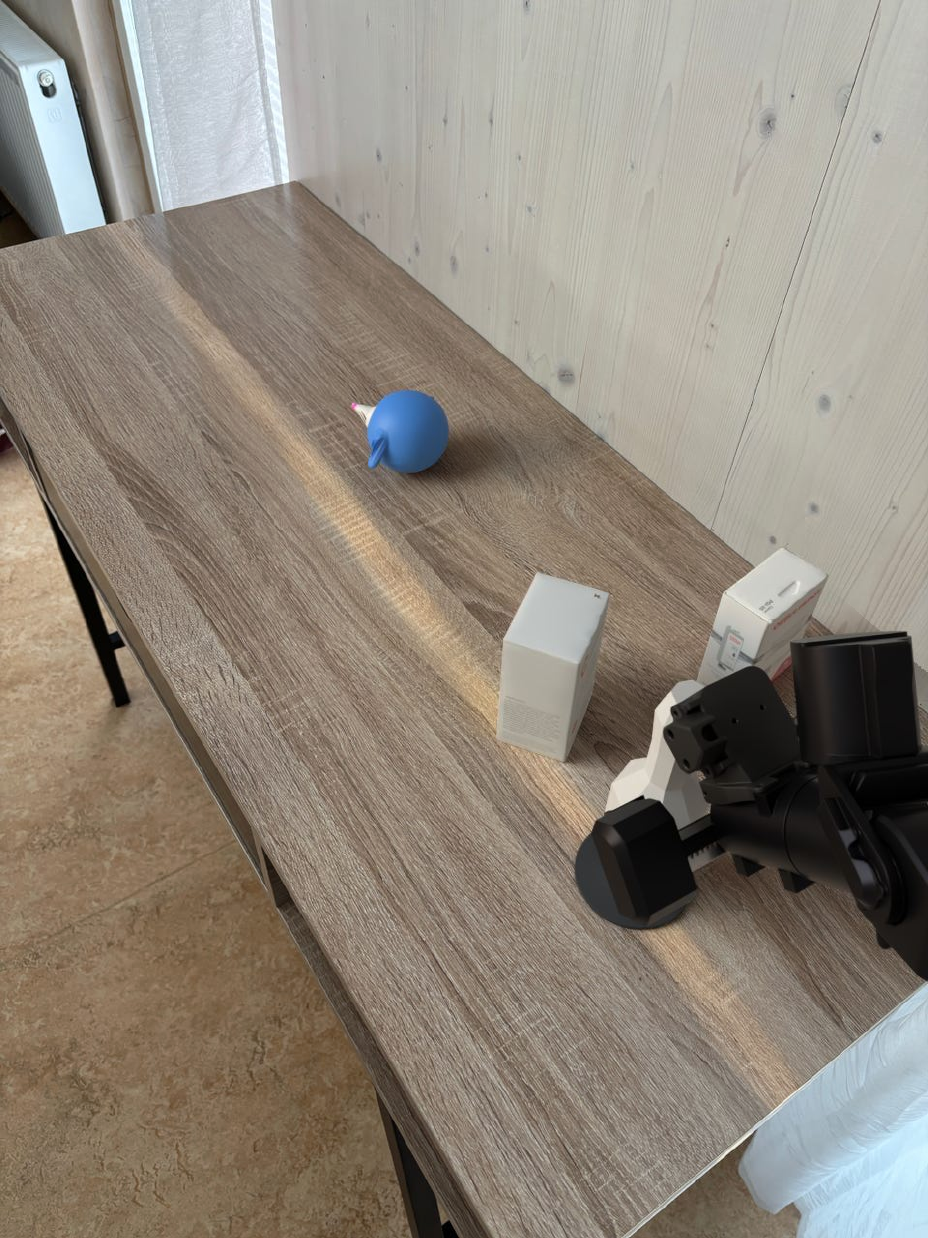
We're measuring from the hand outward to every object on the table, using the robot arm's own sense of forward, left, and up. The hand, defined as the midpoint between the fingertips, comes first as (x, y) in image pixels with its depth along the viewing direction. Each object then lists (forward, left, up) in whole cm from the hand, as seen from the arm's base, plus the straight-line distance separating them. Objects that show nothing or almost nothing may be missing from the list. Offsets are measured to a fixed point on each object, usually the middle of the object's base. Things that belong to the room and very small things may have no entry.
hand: (664, 790), depth 68 cm
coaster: (0, 0, -12) cm, 12 cm away
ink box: (+14, -19, -12) cm, 27 cm away
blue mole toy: (+54, 0, -12) cm, 56 cm away
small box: (+16, 0, -12) cm, 21 cm away
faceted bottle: (0, 0, -12) cm, 12 cm away
